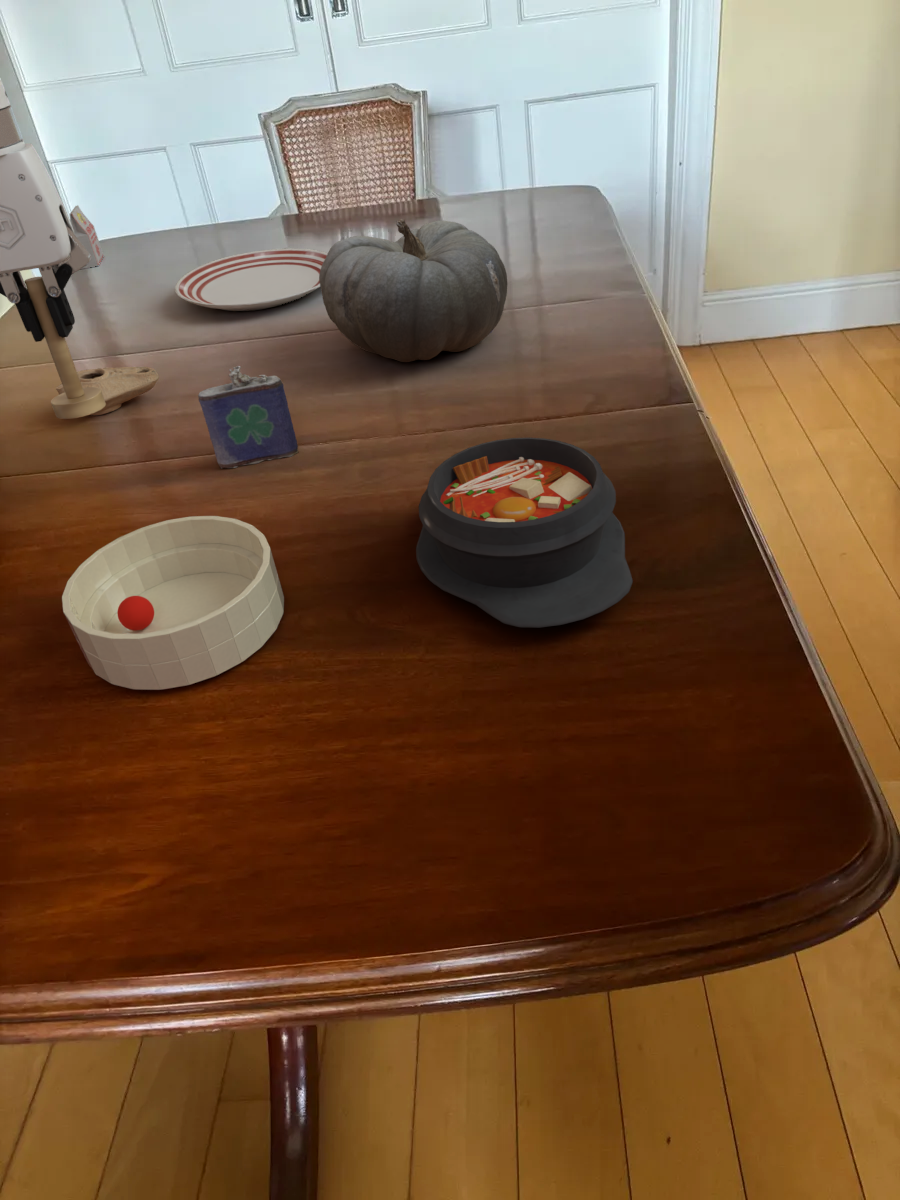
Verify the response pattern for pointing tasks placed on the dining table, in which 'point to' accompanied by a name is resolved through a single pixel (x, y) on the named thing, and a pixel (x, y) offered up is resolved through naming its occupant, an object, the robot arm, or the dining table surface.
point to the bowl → (176, 601)
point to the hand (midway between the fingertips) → (54, 333)
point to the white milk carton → (86, 236)
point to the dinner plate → (253, 279)
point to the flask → (248, 420)
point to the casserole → (524, 532)
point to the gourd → (415, 290)
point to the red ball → (135, 613)
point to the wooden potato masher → (63, 362)
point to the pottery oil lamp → (117, 384)
